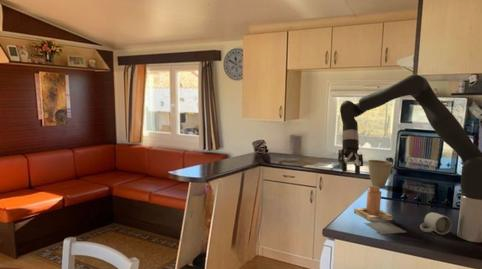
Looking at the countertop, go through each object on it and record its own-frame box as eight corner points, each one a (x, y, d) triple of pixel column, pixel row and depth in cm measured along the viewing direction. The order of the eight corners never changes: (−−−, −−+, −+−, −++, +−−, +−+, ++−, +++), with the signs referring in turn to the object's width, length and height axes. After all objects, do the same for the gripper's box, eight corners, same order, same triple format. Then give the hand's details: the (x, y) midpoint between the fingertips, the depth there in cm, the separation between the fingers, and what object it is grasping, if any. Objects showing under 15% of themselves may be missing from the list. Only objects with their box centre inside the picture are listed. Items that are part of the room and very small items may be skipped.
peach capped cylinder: (366, 213, 162) (368, 184, 161) (379, 215, 160) (382, 186, 158) (364, 217, 156) (367, 188, 154) (378, 219, 153) (381, 189, 152)
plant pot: (384, 189, 211) (386, 164, 209) (362, 185, 222) (364, 161, 220) (394, 186, 221) (396, 162, 219) (372, 181, 232) (374, 159, 230)
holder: (375, 212, 166) (375, 207, 165) (392, 220, 154) (392, 215, 154) (353, 213, 163) (354, 208, 162) (369, 222, 151) (369, 217, 151)
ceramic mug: (437, 227, 148) (438, 210, 147) (451, 234, 140) (452, 216, 139) (415, 228, 147) (416, 210, 146) (428, 235, 139) (429, 217, 138)
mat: (387, 223, 151) (387, 221, 151) (406, 233, 140) (406, 231, 140) (364, 224, 148) (364, 223, 148) (381, 235, 137) (382, 233, 137)
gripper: (345, 135, 158) (346, 169, 153) (366, 142, 164) (367, 174, 159) (334, 139, 164) (334, 171, 159) (354, 145, 170) (355, 176, 165)
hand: (351, 173), depth 159 cm, fingers open, 8 cm apart
